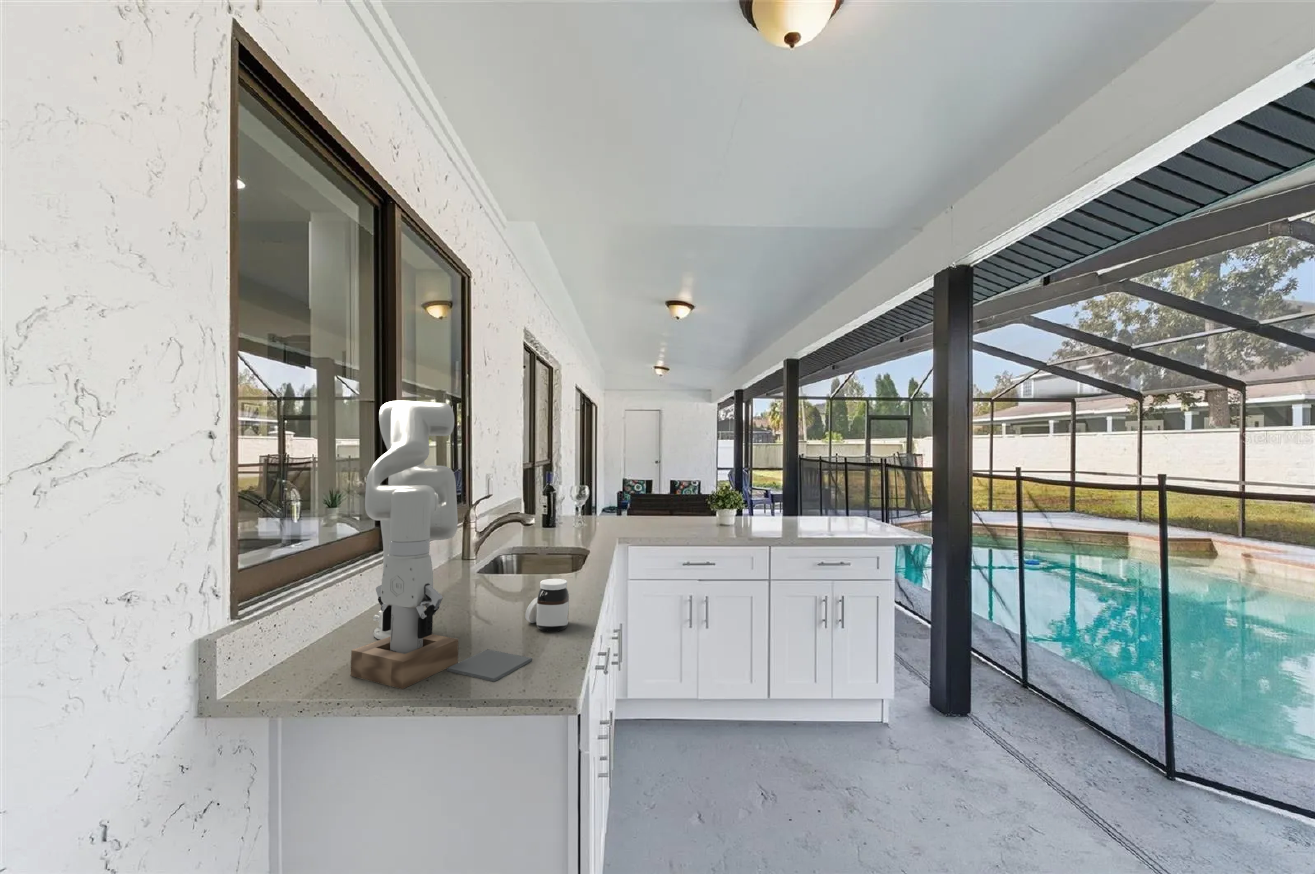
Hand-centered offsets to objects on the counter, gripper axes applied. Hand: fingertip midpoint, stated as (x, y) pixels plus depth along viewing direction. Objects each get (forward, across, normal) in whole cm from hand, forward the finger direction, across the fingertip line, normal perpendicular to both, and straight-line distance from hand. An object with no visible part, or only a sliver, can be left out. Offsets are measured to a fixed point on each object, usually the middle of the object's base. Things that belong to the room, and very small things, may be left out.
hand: (407, 633), depth 111 cm
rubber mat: (+7, +14, +9) cm, 18 cm away
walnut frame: (+7, 0, 0) cm, 7 cm away
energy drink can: (+7, 0, 0) cm, 7 cm away
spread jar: (+8, +9, +36) cm, 38 cm away
